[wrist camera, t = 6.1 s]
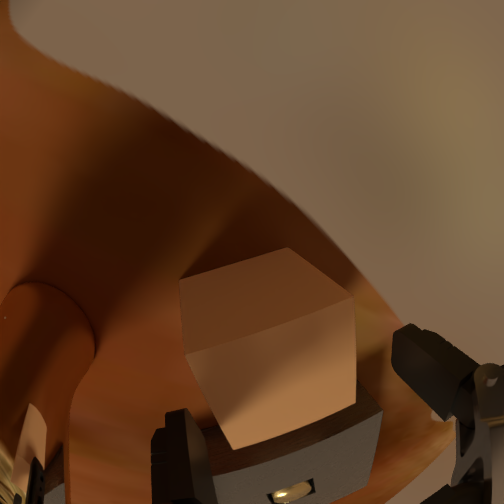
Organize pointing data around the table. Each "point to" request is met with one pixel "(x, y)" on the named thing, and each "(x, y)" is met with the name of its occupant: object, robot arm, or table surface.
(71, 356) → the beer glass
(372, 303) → the table surface
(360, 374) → the table surface
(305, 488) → the pin
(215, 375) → the light brown cube
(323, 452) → the plate
